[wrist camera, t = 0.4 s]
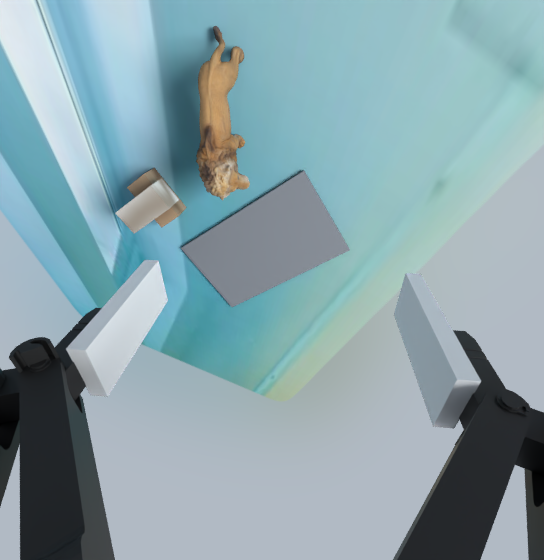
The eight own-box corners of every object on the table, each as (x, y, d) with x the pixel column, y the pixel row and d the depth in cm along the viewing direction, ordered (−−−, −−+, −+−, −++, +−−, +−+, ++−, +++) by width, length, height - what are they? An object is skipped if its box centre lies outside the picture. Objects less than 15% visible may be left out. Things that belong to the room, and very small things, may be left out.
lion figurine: (259, 178, 38) (247, 203, 30) (217, 181, 38) (195, 206, 31) (241, 23, 30) (218, 4, 22) (189, 31, 30) (149, 15, 23)
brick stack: (130, 186, 40) (105, 202, 35) (163, 160, 38) (140, 173, 33) (162, 224, 42) (143, 243, 37) (195, 201, 40) (178, 219, 35)
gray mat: (182, 246, 44) (180, 248, 44) (303, 170, 36) (303, 171, 36) (232, 305, 49) (231, 307, 48) (349, 248, 41) (349, 250, 41)
